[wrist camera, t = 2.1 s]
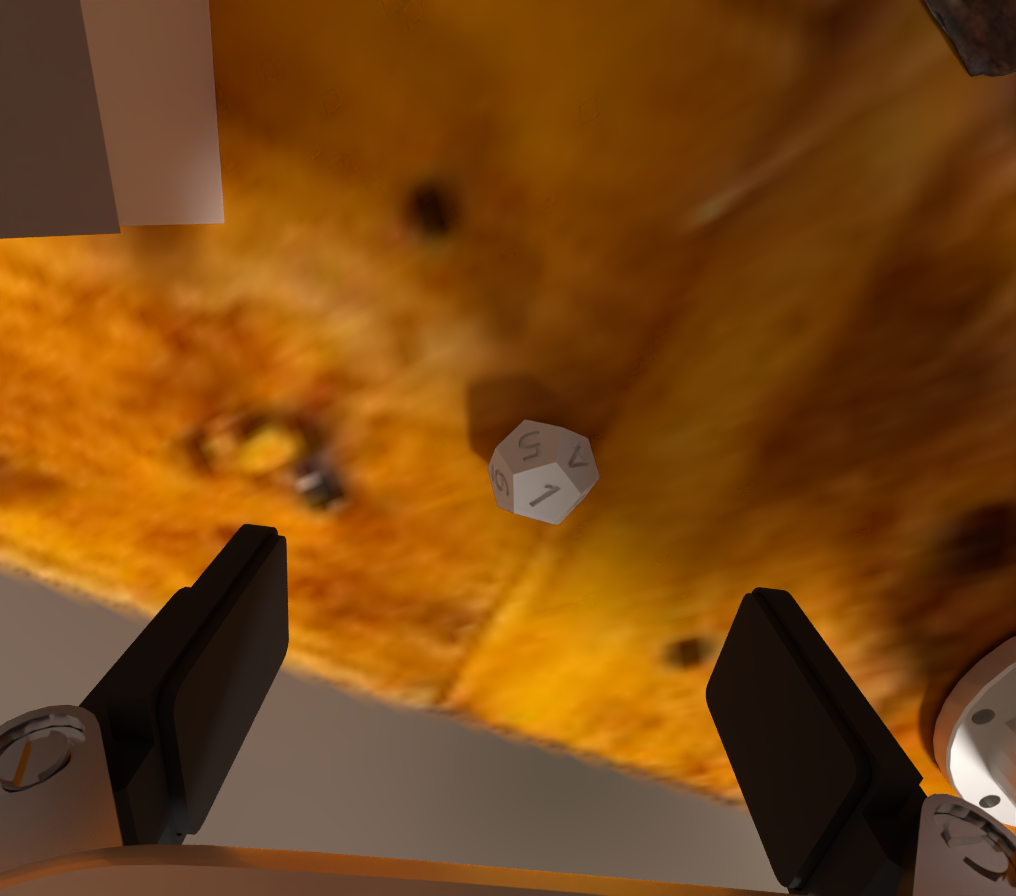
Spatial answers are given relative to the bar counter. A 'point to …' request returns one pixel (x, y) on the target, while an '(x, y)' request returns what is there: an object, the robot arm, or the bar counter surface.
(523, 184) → the bar counter surface
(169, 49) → the lower block
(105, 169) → the upper block
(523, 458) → the game die
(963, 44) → the stone block
